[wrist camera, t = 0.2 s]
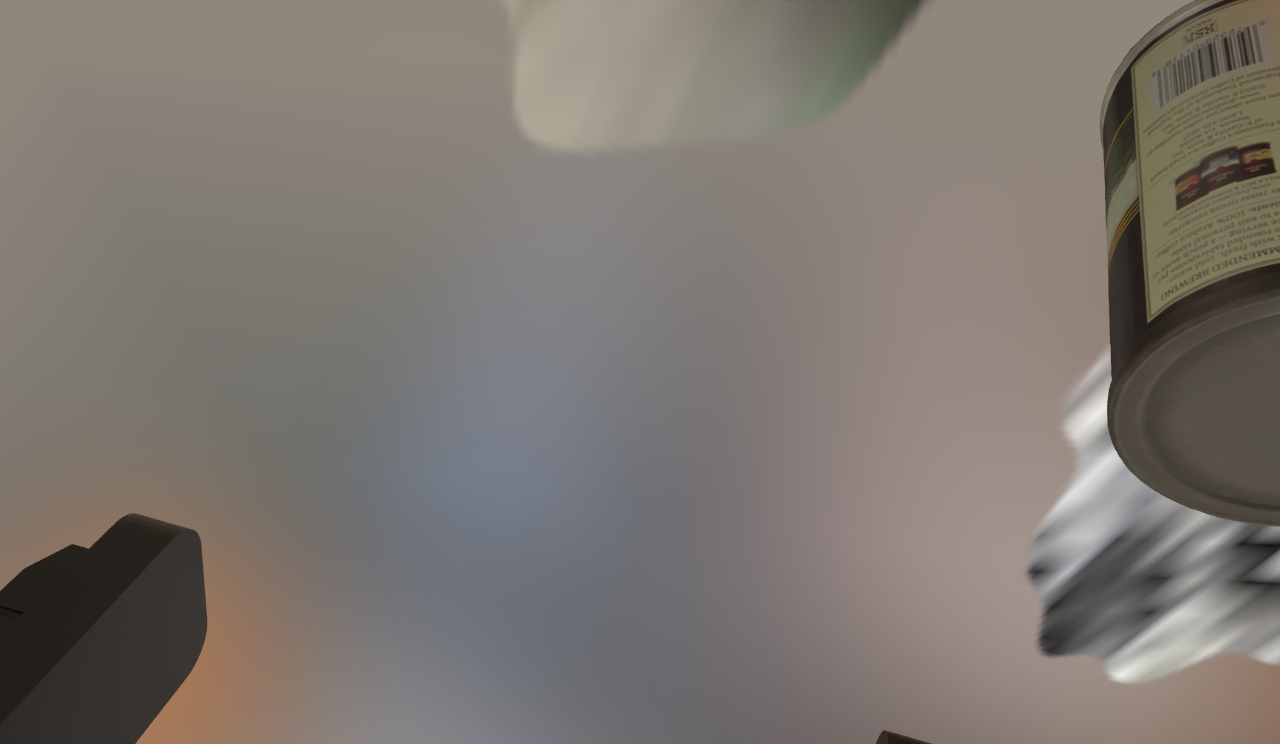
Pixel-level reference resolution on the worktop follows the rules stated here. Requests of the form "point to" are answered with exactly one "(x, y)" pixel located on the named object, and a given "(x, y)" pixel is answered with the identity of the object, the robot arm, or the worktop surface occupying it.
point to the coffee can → (1197, 258)
